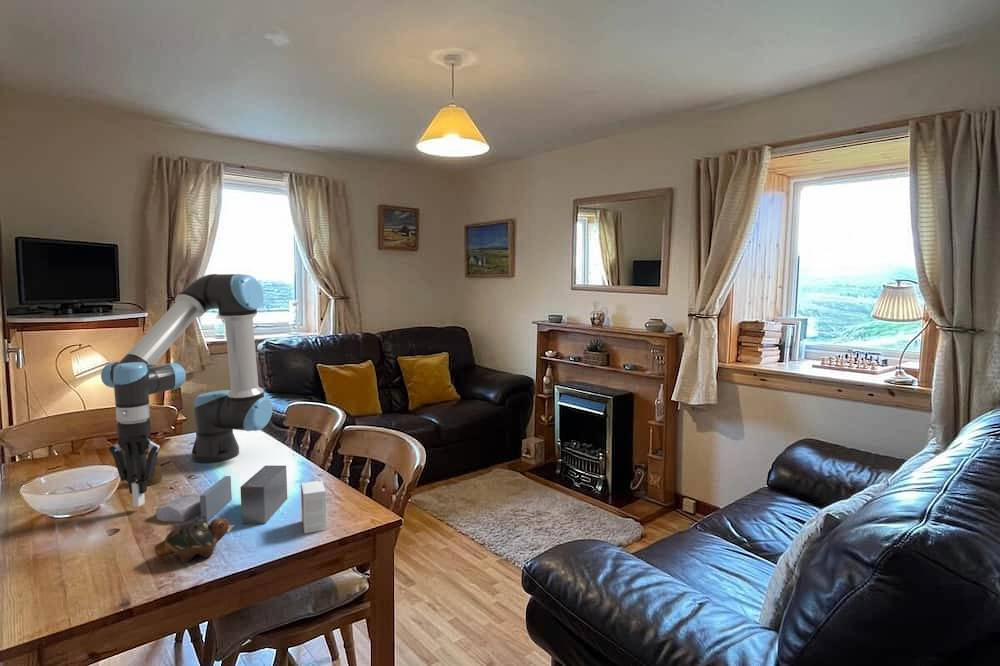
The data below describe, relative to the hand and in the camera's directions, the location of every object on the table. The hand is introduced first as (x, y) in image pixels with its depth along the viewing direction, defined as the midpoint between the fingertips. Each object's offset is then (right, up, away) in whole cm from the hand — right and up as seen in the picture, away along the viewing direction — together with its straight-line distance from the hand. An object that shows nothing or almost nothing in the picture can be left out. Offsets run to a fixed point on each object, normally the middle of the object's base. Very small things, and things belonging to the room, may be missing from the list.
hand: (139, 504), depth 150 cm
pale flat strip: (+25, -3, -10) cm, 27 cm away
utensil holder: (-10, 0, +21) cm, 23 cm away
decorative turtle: (+28, -5, -23) cm, 36 cm away
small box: (+50, -3, -7) cm, 51 cm away
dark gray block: (+34, -2, +1) cm, 34 cm away
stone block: (+12, -3, 0) cm, 12 cm away
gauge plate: (+21, -2, -2) cm, 21 cm away
